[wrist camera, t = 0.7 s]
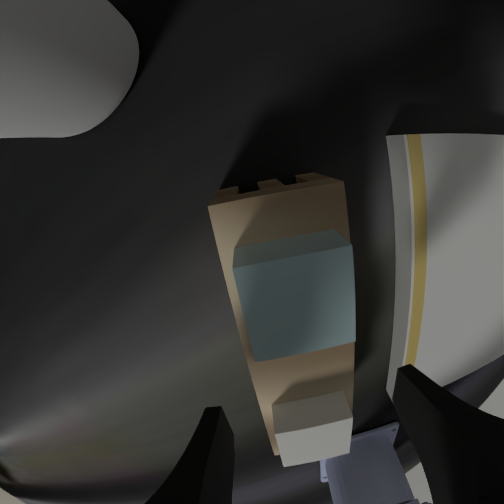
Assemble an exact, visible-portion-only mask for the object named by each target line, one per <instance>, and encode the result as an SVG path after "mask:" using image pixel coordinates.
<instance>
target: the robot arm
mask: <svg viewBox="0 0 504 504" xmlns="http://www.w3.org/2000/svg"><path fill="white" fill-rule="evenodd" d="M392 401H393V404H394V406H395V409H396V412H397V414H398V417H399V419H400V421H401V423H402V425H403V427H404V429H405V431H406V433H407V435H408V437H409V439H410V440H411V442H412V444H413V446H414V448H415V450H416V452H417V454H418V456H419V458H420V461H421V463H422V466H423V469H424V472H425V475H426V478H427V481H428V484H429V488H430V492H431V495H432V500H433V504H504V419H502V418H499V417H496V416H493V415H491V414H488V413H486V412H483V411H482V410H479V409H477V408H475V407H473V406H471V405H469V404H468V403H466V402H464V401H462V400H461V399H459V398H457V397H456V396H454V395H453V394H451V393H450V392H448V391H447V390H445V389H444V388H443V387H441V386H440V385H438V384H437V383H435V382H434V381H433V380H431V379H430V378H429V377H427V376H426V375H425V374H423V373H422V372H421V371H419V370H418V369H417V368H416V367H414V366H413V365H411V364H408V365H405V366H402V367H399V368H397V374H396V380H395V386H394V391H393V396H392ZM398 428H399V423H398V422H393V423H391V424H388V425H385V426H382V427H379V428H376V429H373V430H370V431H366V432H363V433H360V434H356V435H353V436H351V443H350V452H349V453H347V454H344V455H340V456H336V457H332V458H327V459H323V460H320V475H321V482H327V481H328V482H329V486H330V491H331V495H332V500H333V504H419V501H418V499H414V496H413V494H412V491H411V488H410V486H409V483H408V481H407V478H406V476H405V473H404V471H403V468H402V466H401V464H400V461H399V459H398V456H397V454H396V452H395V449H394V447H393V444H394V441H395V438H396V434H397V431H398ZM234 458H235V451H234V435H233V432H232V429H231V427H230V425H229V423H228V420H227V418H226V416H225V414H224V411H223V409H222V407H221V406H217V407H207V408H206V409H205V410H204V412H203V415H202V417H201V419H200V422H199V424H198V426H197V428H196V430H195V432H194V434H193V436H192V438H191V440H190V442H189V444H188V446H187V448H186V450H185V451H184V453H183V455H182V456H181V458H180V460H179V461H178V463H177V464H176V466H175V467H174V469H173V470H172V472H171V473H170V475H169V476H168V477H167V479H166V480H165V481H164V483H163V484H162V485H161V486H160V487H159V489H158V490H157V491H156V492H155V493H154V494H153V495H152V497H151V498H150V499H149V500H148V501H147V502H146V503H145V504H232V487H233V473H234ZM422 504H431V503H427V502H424V503H422Z"/></svg>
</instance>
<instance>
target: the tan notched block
mask: <svg viewBox="0 0 504 504" xmlns="http://www.w3.org/2000/svg"><path fill="white" fill-rule="evenodd" d="M295 177H296V182H297V184H291V185H284V184H282V183H281V182H280V181H279V180H277V179H272V180H267V181H261V182H257V184H258V189H259V190H258V191H253V192H248V193H243V194H239V189H238V186H236V187H231V188H226V189H221V190H218V192H217V193H216V195H215V196H214V198H213V199H212V201H211V202H210V204H209V205H208V210H209V214H210V218H211V222H212V227H213V231H214V235H215V239H216V244H217V248H218V252H219V256H220V260H221V264H222V268H223V272H224V276H225V280H226V284H227V288H228V292H229V296H230V300H231V304H232V307H233V311H234V315H235V319H236V323H237V326H238V330H239V334H240V338H241V341H242V345H243V349H244V352H245V356H246V359H247V363H248V367H249V370H250V374H251V377H252V381H253V384H254V388H255V391H256V395H257V398H258V402H259V405H260V408H261V412H262V415H263V419H264V422H265V425H266V429H267V432H268V435H269V438H270V442H271V445H272V448H273V451H274V455H280V452H279V448H278V445H277V441H276V437H275V433H274V424H273V415H272V405H274V404H280V403H286V402H291V401H296V400H301V399H306V398H311V397H316V396H320V395H324V394H329V393H333V392H337V391H341V390H343V392H344V395H345V397H346V400H347V403H348V405H349V408H350V411H351V413H352V405H353V386H354V342H351V343H347V344H343V345H339V346H335V347H331V348H326V349H322V350H317V351H313V352H308V353H303V354H299V355H294V356H288V357H283V358H278V359H272V360H266V361H261V362H255V360H254V356H253V352H252V348H251V344H250V340H249V336H248V332H247V328H246V324H245V320H244V316H243V312H242V308H241V303H240V299H239V295H238V291H237V287H236V282H235V278H234V274H233V270H232V265H233V254H234V248H236V247H241V246H246V245H252V244H257V243H262V242H267V241H273V240H278V239H283V238H289V237H294V236H299V235H305V234H310V233H315V232H321V231H326V230H331V229H335V230H336V231H337V232H338V233H339V234H340V235H342V236H343V237H344V238H345V239H346V240H347V241H348V242H349V243H350V232H349V221H348V212H347V203H346V195H345V187H344V181H340V180H337V179H334V178H331V177H327V176H324V175H321V174H317V173H307V174H301V175H295Z"/></svg>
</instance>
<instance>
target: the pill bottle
mask: <svg viewBox="0 0 504 504" xmlns="http://www.w3.org/2000/svg"><path fill="white" fill-rule="evenodd" d="M138 61H139V45H138V40H137V37H136V34H135V32H134V30H133V28H132V27H131V25H130V23H129V22H128V21H127V20H126V19H125V18H124V17H123V16H122V14H121V13H120V12H119V11H118V10H117V9H116V8H115V7H114V6H113V5H112V4H111V3H110V2H109V1H108V0H0V138H15V137H67V136H73V135H77V134H81V133H83V132H86V131H88V130H90V129H92V128H93V127H95V126H97V125H98V124H100V123H101V122H102V121H103V120H105V119H106V118H107V117H108V116H109V115H110V114H111V113H112V112H113V111H114V110H115V109H116V108H117V107H118V105H119V104H120V103H121V101H122V100H123V99H124V97H125V96H126V94H127V92H128V90H129V89H130V87H131V84H132V82H133V80H134V77H135V74H136V71H137V67H138Z"/></svg>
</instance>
